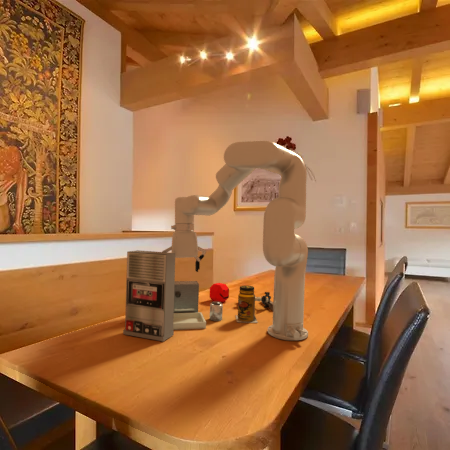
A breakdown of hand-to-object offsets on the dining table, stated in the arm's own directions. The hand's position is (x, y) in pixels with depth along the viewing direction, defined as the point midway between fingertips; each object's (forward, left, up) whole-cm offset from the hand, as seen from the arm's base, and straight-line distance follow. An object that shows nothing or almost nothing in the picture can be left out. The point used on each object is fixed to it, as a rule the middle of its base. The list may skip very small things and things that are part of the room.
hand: (184, 271), depth 123 cm
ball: (+11, -16, -15) cm, 25 cm away
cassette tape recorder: (-27, +13, -15) cm, 34 cm away
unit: (-8, +1, -15) cm, 17 cm away
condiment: (-15, -21, -15) cm, 30 cm away
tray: (-18, 0, -15) cm, 23 cm away
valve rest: (+1, -30, -15) cm, 34 cm away
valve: (+1, -30, -15) cm, 33 cm away
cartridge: (-14, -10, -15) cm, 23 cm away
